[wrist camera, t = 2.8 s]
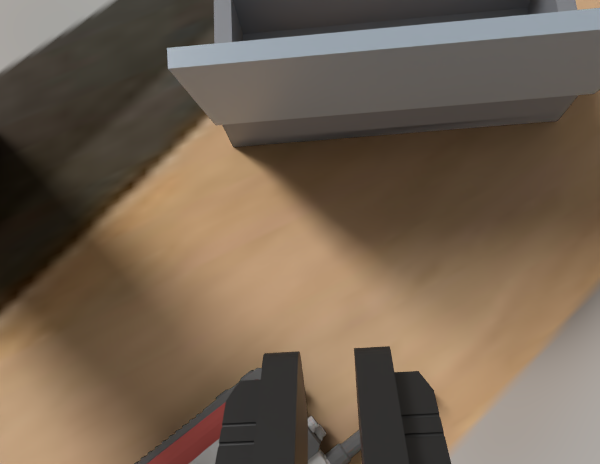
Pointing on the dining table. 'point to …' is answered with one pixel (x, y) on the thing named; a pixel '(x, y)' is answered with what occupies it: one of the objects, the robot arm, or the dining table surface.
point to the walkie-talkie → (206, 432)
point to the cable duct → (373, 15)
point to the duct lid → (394, 67)
